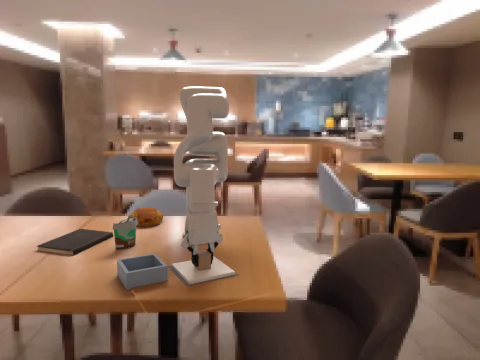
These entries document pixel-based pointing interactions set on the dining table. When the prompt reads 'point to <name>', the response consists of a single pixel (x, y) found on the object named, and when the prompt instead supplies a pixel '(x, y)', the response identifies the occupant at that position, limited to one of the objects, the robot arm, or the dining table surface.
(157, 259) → the dish
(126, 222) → the food container
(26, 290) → the dining table surface
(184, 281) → the mat
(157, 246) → the dining table surface
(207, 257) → the lid
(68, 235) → the hardcover book
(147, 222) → the croissant
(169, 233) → the dining table surface
